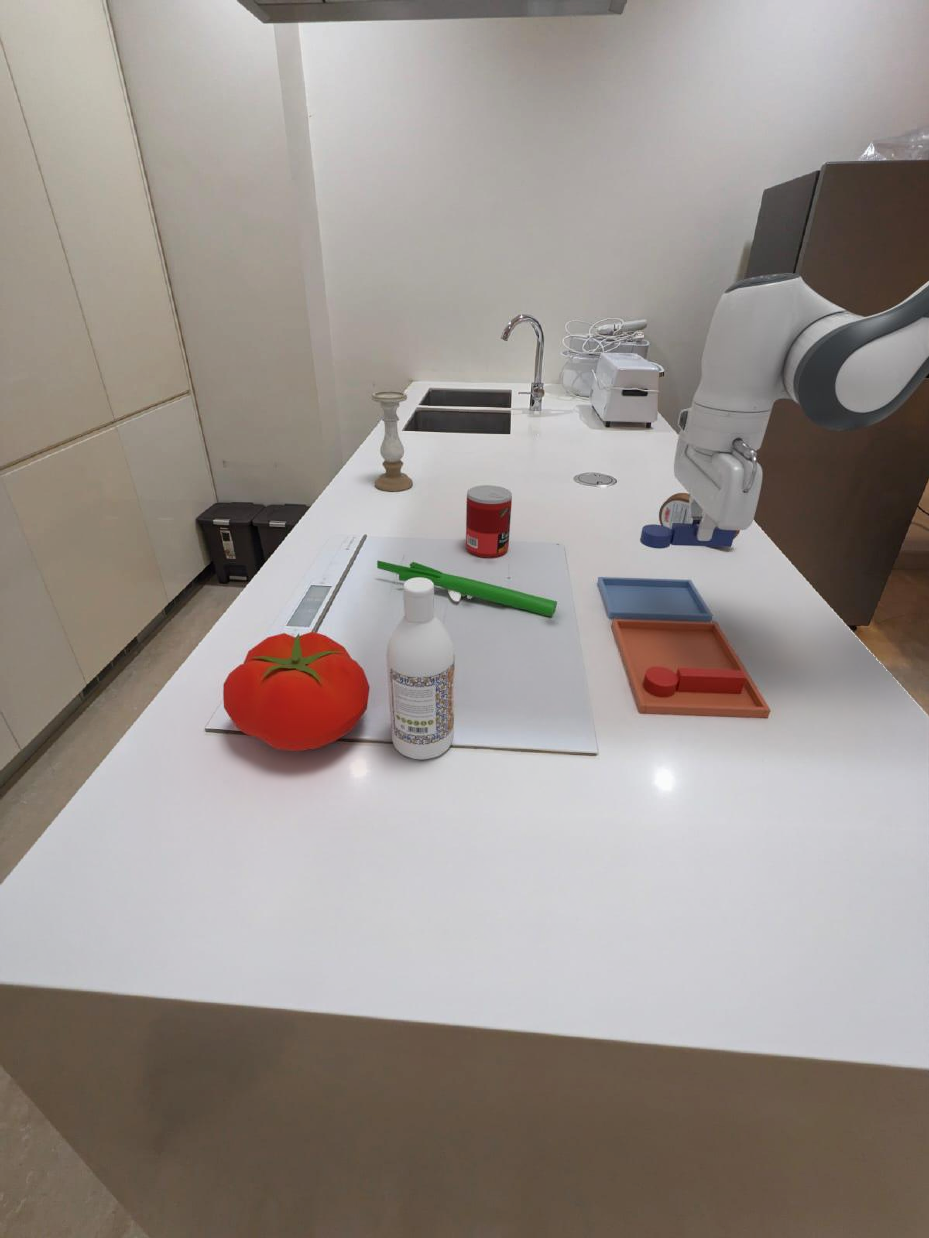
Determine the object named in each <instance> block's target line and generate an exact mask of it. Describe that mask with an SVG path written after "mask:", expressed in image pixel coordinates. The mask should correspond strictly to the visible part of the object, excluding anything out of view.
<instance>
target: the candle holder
mask: <svg viewBox="0 0 929 1238" xmlns="http://www.w3.org/2000/svg"><path fill="white" fill-rule="evenodd" d="M371 400H372V401H374V402H377V403H379V406H380V407H381V409H382V411H383V416H382V418H381V421H382V422H384V436H383V439H382V442H381V445H380V449H379V452H380V456H381V457H382V460H384V461H383V462H382V466H383V468H384V469H385V472H383V473H381V474H380V475H379V476H378V478H376V479H375V480H374V486H375V487H376V489H378V490H381V491H385V492H401V491H402V492H403V491H406V490H408V489H410V488H412V487H413V483H414V482H413V479H412V478H411V477H410V476H408V475H407V473H404V472H402V467H403V466H404V462H403V461H402V458H404V455H405V449H404V446H403V443H402V441H401V439H400V437H399V432H398V422H399V421H400V417H399V415H398V413H397V412H398V411H397V410H398V409H399V407H400V403H401V402H405V401H407V400H408V395H407V394H406V393H405V392H403V391H399V390H398V391H397V390H396V391H395V390H383V391H376V392H373V393H372V395H371Z"/></svg>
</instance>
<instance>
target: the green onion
mask: <svg viewBox="0 0 929 1238" xmlns="http://www.w3.org/2000/svg"><path fill="white" fill-rule="evenodd" d="M376 565H377V567H376V568H377V569H378V570H382V571H385V572H386V571H387V572H389V573H393V574H398V581H399V582H400V581H401V582H406V581H407V580H409V579H411V578H418V577H421V578H427V579H429V580H431V581H432V582H433V584H434V587H440V588H443V589H445V590H448V591H447V594H448V595H449V597H450V599H451V600H452V601H454V602H459V601H461V598H462V597H463V598H465V597H466V599H468V600H469V599H470V600H471V599H472V598H478V599H481V600H485V601H489V602H493V603H497V604H500V605H503V606H507V607H511V608H516V609H520V610H524V611H528V612H532V613H536V614H539V615H542V616H547V617H549V618H552V617H553V616H554V614H555V612H556V609H557V606H558V601H557V600H553V599H549V598H545V597H542V596H541V597H540V596H536V595H533V594H529V593H525V592H523V591H522V592H521V591H518V590H514V589H510V588H507V587H503V586H499V585H496V584H491V583H487V582H483V581H480V580H475V579H471V578H467V577H463V576H458V575H453V574H449V573H445V572H442V571H441V570H438V569H434V568H432V567H429V566H427V565H424V564H421V563H417V562H415V561H412V562H411V563H410V564H409V566H405V565H400V564H395V563H391V562H387V561H383V560H376Z"/></svg>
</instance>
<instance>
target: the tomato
mask: <svg viewBox="0 0 929 1238" xmlns="http://www.w3.org/2000/svg"><path fill="white" fill-rule="evenodd" d="M222 687H223V689H222V694H223V695H222V696H223V697H222V699H223V709H224V710H225V712H226V714H227V715H228V717H229V718H230V720H231V721H232V722H233V724H234V725H235V726H236V728H237V729H238V730H240V731H241V732H242V733H243V734H245V735H247V736H250V737H253V738H256V739H260V740H262V741H263V742H265V743H267V744H268V745H270V746H271V747H272V748H274V749H275V750H283V751H284V750H285V751H290V752H291V751H293V752H301V751H307V750H313V749H318V748H321V747H323V746H326V745H329V744H331V743H333V742H336V741H337V740H339V739H341V738H342V737H343V736H345V735H346V734H348V733H349V732H350V731H352V730H353V729H354V727H356V725H357V724H358V722H359V721H360V719H361V718H362V717H363V716H364V714H365V712H366V711H367V709H368V703H369V696H370V684H369V681H368V678H367V675H366V673H365V671H364V668H363V667H362V666H361V665H360V664H359V663H358V661H357V660H354V659H352V656H351V655H350V654H349V652H348V651H347V649H346V648H345V646H343V645H342V644H340V643H339V642H337V641H335V640H334V639H332V638H330V637H329V636H328V635H326V634H322V633H319V632H316V631H310V632H306V633H304V634H300V633H298V634H297V635H296V636H293V635H291V634H288V633H285V632H282V633H278V634H275V635H271V636H269V637H268V636H267V637H265V639H263V640H262V641H261V642H259V643H258V644H256V645H255V646H254V647H251V649H249V650H248V652H247V654H246V656H245V659H244V661H243V663H241V664H239V665H238V666H237V667H236V668H234V669H233V670H232V671H230V673H228V675H227V677H226V679H225V680H224V682H223V686H222Z"/></svg>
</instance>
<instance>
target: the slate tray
mask: <svg viewBox="0 0 929 1238" xmlns="http://www.w3.org/2000/svg"><path fill="white" fill-rule="evenodd" d="M597 577H598V578H597V582H596V583H597V588H598V590H599V593H600V596H601V599H602V602H603V603H602V604H603V607H604V608H605V612H606V615H607V618H608V620H612V619H630V620H659V621H688V622H712V619H713V614H712V612H711V610H710V609H709V607H708V605H707V604H706V603H705V600H704V599H703V597H702V596H701V594H700V592H699V591H698V589H697V588H696V586H695V584H694V583H693V580H691V579H679V578H678V579H677V578H676V579H675V578H644V577H642V578H641V577H618V576H617V577H616V576H615V577H614V576H597Z"/></svg>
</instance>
